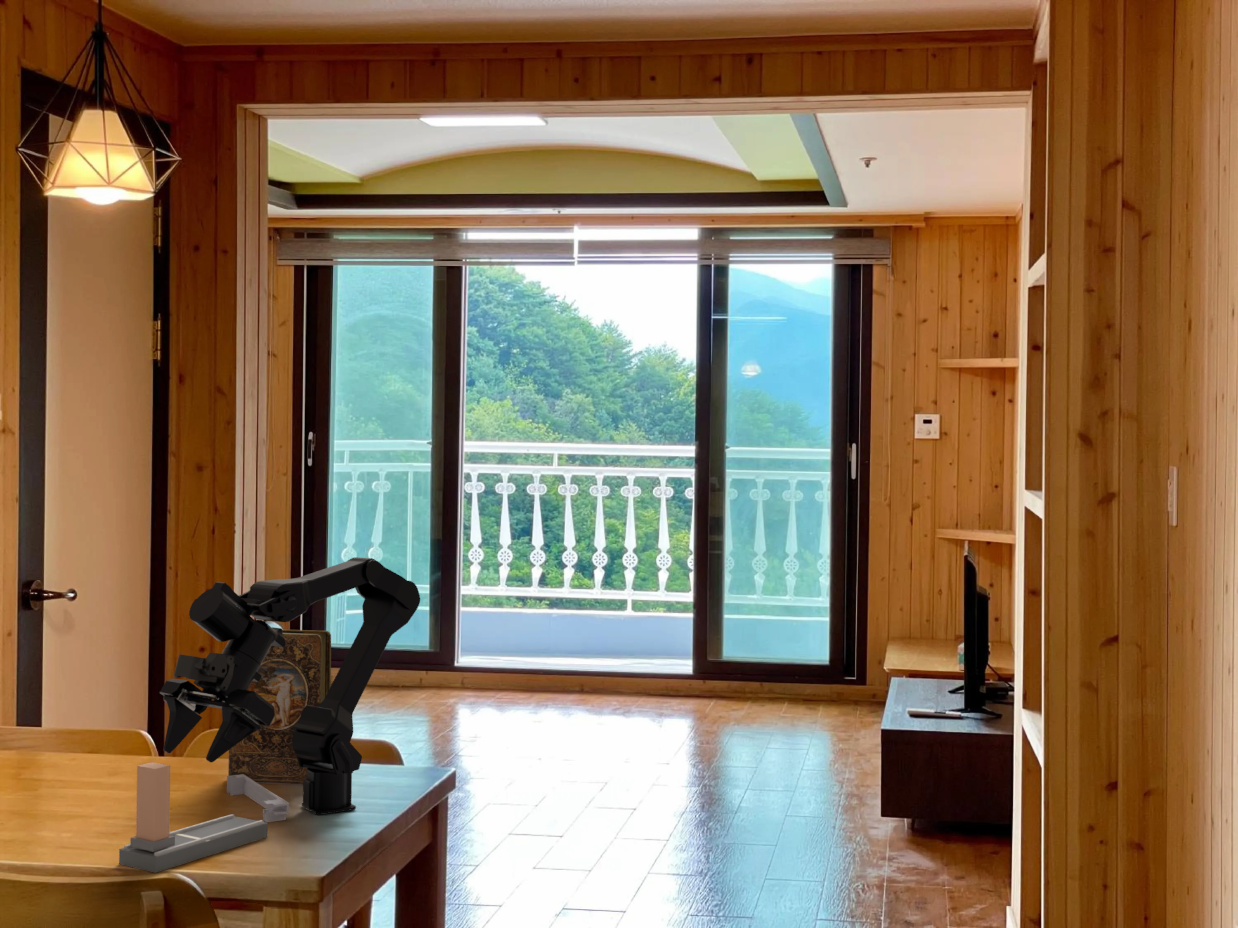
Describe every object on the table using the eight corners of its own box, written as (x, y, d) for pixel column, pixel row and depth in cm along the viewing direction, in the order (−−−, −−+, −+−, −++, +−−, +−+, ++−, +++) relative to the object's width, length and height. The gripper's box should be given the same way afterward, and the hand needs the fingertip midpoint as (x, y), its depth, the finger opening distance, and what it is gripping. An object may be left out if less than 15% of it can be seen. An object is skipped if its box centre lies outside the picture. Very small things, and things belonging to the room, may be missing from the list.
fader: (152, 839, 182) (153, 760, 182) (174, 845, 180) (176, 764, 180) (130, 846, 179) (131, 765, 179) (153, 851, 177) (154, 770, 177)
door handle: (225, 794, 217) (225, 776, 217) (243, 792, 219) (243, 773, 219) (269, 825, 199) (269, 805, 199) (288, 822, 201) (289, 802, 201)
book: (223, 781, 225) (225, 632, 225) (236, 774, 230) (238, 628, 230) (319, 785, 223) (321, 634, 223) (329, 777, 229) (331, 630, 229)
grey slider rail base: (232, 829, 196) (232, 812, 196) (267, 836, 193) (267, 819, 193) (119, 863, 179) (119, 845, 179) (155, 872, 175) (155, 854, 175)
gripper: (163, 624, 194) (105, 720, 187) (249, 635, 184) (191, 738, 176) (213, 662, 202) (159, 757, 194) (299, 675, 191) (245, 775, 183)
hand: (187, 756), depth 187 cm, fingers open, 9 cm apart
